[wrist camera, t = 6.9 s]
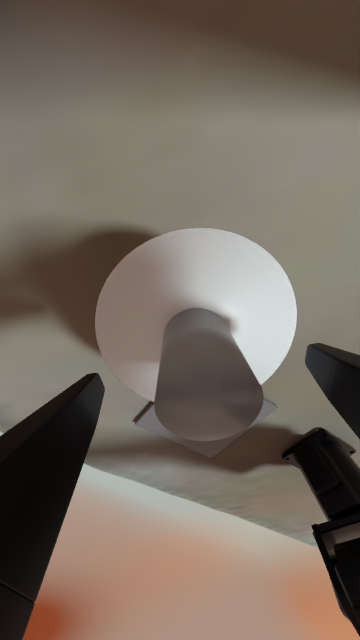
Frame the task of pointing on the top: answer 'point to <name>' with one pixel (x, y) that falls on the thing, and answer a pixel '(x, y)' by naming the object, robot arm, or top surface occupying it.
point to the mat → (202, 447)
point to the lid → (197, 328)
